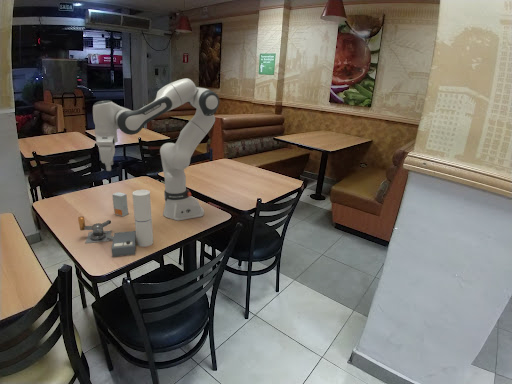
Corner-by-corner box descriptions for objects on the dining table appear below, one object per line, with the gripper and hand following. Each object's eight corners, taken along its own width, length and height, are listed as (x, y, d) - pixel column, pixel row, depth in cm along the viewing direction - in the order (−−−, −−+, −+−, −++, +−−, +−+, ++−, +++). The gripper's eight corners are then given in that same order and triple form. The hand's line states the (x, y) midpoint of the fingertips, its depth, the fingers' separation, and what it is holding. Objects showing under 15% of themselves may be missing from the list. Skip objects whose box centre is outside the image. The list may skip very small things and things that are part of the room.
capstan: (86, 229, 147) (83, 211, 143) (112, 229, 148) (110, 211, 145) (75, 243, 134) (72, 224, 131) (103, 243, 136) (101, 224, 133)
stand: (136, 228, 152) (135, 218, 149) (135, 254, 130) (134, 242, 128) (88, 232, 145) (87, 222, 143) (78, 260, 124) (76, 248, 122)
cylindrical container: (133, 244, 138) (128, 193, 129) (144, 237, 144) (140, 188, 135) (146, 248, 135) (142, 196, 126) (156, 241, 142) (153, 191, 133)
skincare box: (114, 214, 164) (111, 194, 160) (119, 211, 168) (117, 191, 164) (123, 216, 162) (120, 196, 158) (128, 213, 166) (126, 193, 162)
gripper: (102, 133, 144) (105, 161, 149) (95, 142, 126) (99, 174, 131) (116, 133, 146) (119, 161, 151) (112, 142, 128) (115, 173, 133)
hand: (110, 167), depth 141 cm, fingers open, 8 cm apart
